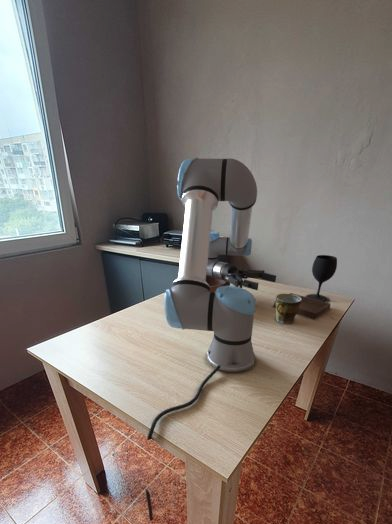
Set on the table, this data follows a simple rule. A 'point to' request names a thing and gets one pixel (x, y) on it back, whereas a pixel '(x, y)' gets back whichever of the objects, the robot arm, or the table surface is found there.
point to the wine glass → (323, 273)
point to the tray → (311, 307)
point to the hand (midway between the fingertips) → (266, 282)
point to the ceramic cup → (287, 307)
